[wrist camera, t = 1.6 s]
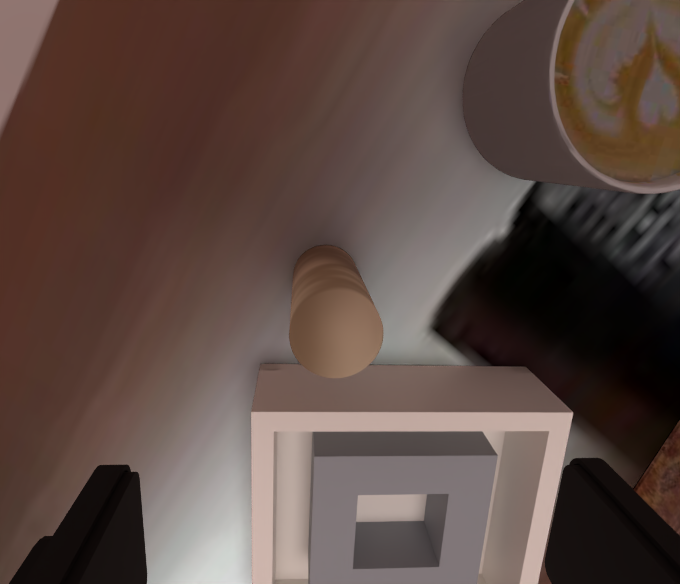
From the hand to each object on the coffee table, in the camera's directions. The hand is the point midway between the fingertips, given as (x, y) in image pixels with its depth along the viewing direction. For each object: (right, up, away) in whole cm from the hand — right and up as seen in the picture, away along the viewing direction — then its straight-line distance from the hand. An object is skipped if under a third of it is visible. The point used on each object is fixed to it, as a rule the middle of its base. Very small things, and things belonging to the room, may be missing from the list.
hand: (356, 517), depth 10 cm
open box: (+3, -9, +24) cm, 26 cm away
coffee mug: (+12, +18, +17) cm, 28 cm away
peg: (-1, +6, +19) cm, 20 cm away
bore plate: (+3, -9, +23) cm, 25 cm away
